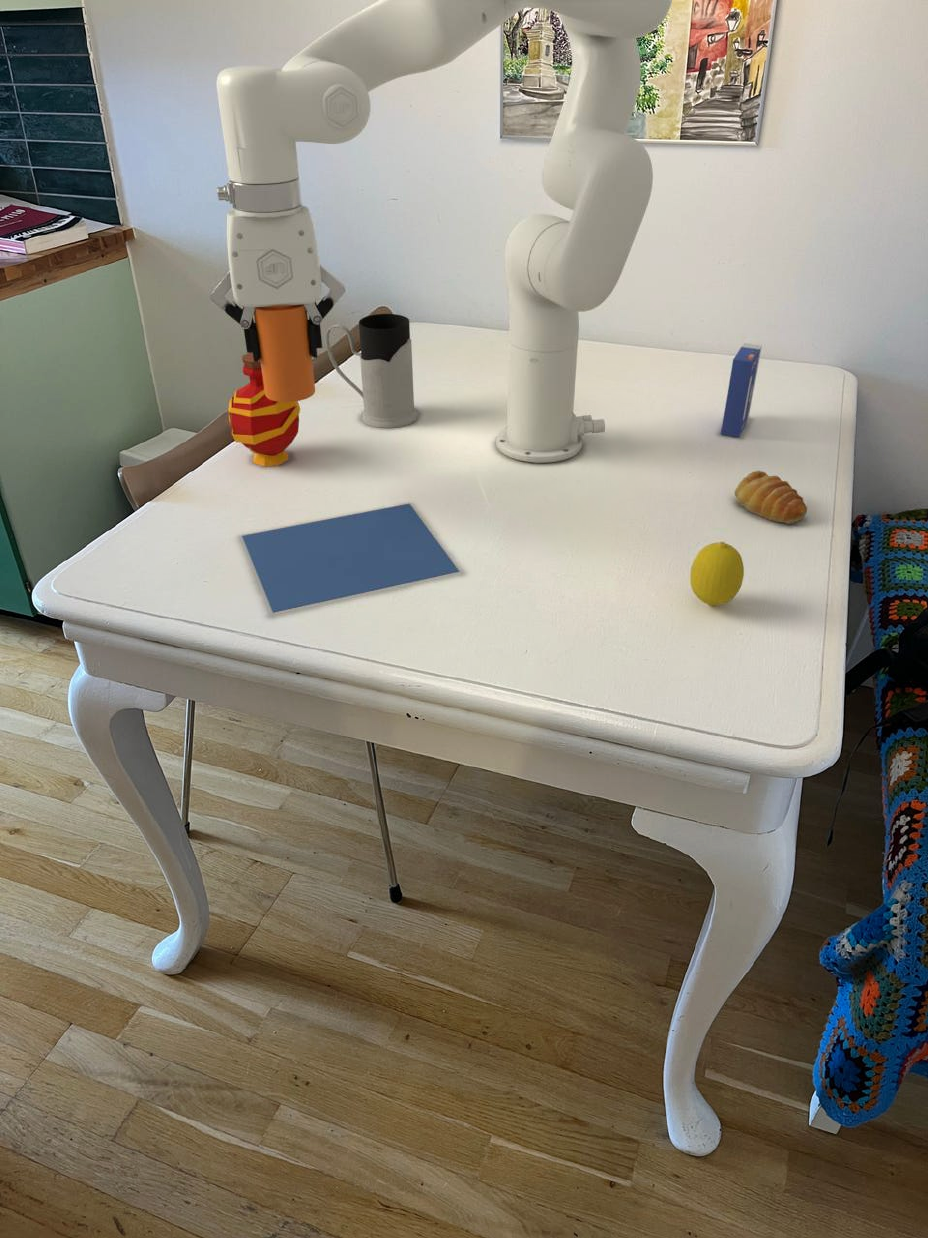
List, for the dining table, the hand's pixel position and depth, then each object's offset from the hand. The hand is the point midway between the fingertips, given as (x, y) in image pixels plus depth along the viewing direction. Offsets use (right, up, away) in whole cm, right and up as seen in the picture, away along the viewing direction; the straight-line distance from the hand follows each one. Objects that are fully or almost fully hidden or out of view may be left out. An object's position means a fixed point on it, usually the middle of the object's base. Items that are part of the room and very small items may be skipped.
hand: (285, 354), depth 112 cm
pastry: (+61, -18, +8) cm, 65 cm away
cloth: (+8, -24, -1) cm, 26 cm away
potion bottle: (-6, -9, +21) cm, 24 cm away
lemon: (+49, -31, -10) cm, 59 cm away
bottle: (0, -4, +3) cm, 5 cm away
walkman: (+63, -3, +29) cm, 70 cm away
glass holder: (+7, 0, +34) cm, 35 cm away
